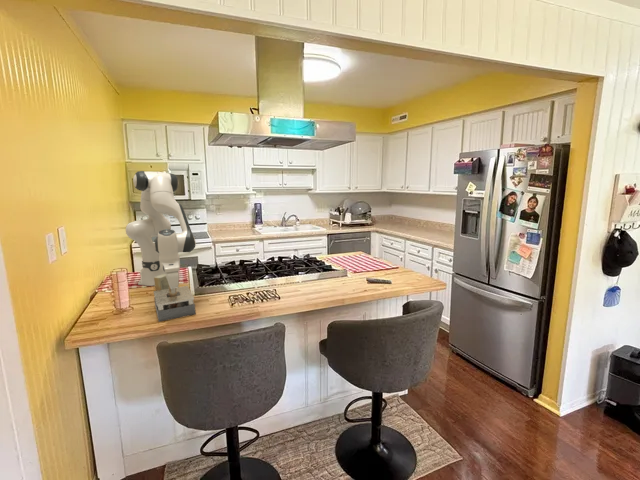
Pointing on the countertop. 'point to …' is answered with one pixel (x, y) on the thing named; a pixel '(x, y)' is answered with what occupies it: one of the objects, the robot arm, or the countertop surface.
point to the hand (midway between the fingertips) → (172, 291)
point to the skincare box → (161, 282)
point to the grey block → (173, 293)
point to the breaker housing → (174, 303)
